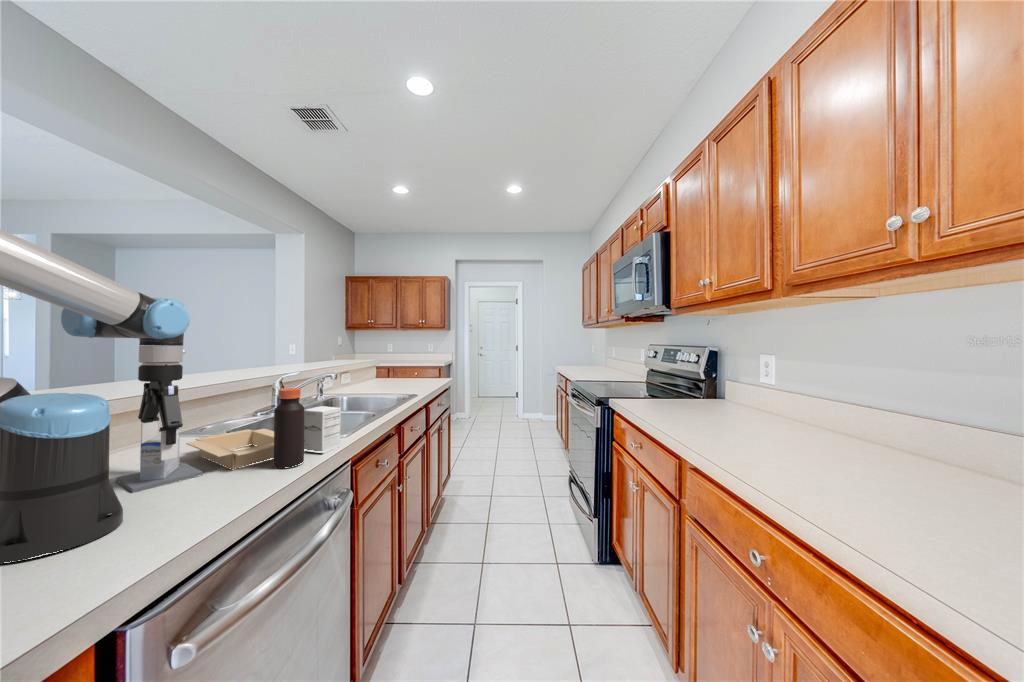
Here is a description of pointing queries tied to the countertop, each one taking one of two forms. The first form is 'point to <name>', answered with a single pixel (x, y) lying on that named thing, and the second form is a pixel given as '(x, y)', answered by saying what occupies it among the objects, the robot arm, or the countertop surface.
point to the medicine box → (156, 460)
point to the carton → (222, 443)
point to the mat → (180, 473)
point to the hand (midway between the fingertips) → (158, 453)
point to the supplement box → (321, 428)
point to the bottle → (288, 429)
